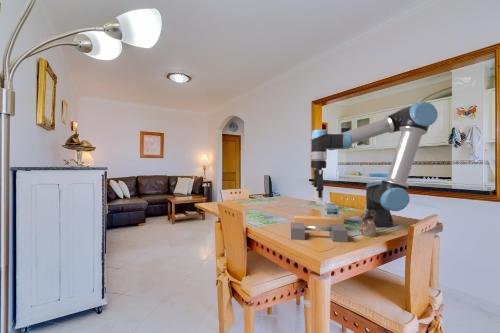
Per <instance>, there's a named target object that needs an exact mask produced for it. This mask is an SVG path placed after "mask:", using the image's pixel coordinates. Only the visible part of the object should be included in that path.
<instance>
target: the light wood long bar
mask: <svg viewBox="0 0 500 333" xmlns="http://www.w3.org/2000/svg"><path fill="white" fill-rule="evenodd" d="M293 218H294V220H293V223H304V226H322V227H329V224H340V225H343V226H344V227H345V220H344V218H343V217H341V216H340V217H322V216H313V215H311V216H310V215H309V216H307V215H294V217H293Z"/></svg>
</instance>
